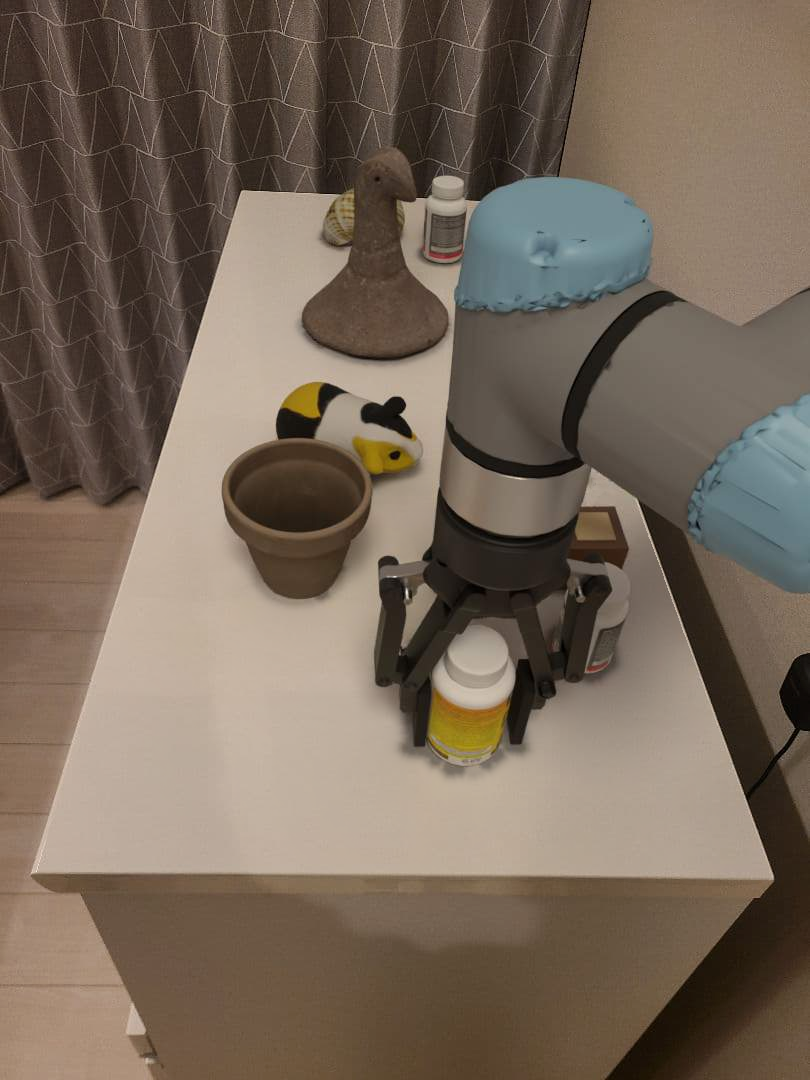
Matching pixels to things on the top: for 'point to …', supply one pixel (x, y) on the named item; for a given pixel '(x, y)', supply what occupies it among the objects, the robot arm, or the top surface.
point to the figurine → (351, 426)
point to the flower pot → (297, 510)
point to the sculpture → (377, 275)
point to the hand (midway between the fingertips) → (466, 728)
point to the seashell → (347, 219)
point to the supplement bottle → (470, 697)
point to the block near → (598, 536)
